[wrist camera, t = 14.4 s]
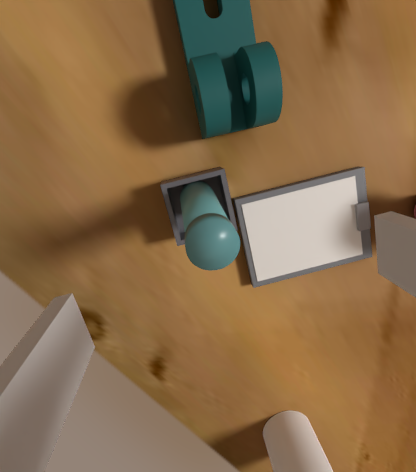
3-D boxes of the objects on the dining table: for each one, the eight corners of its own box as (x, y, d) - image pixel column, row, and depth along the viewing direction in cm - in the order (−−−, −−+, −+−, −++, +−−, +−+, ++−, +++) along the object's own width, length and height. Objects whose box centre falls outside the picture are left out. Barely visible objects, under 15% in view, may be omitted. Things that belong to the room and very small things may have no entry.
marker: (174, 179, 33) (180, 226, 20) (209, 172, 33) (236, 215, 21) (182, 212, 35) (191, 275, 22) (215, 205, 35) (243, 264, 22)
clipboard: (232, 198, 35) (235, 200, 34) (358, 166, 36) (367, 167, 34) (251, 283, 38) (254, 289, 37) (366, 253, 39) (375, 258, 37)
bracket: (262, 125, 34) (286, 118, 26) (202, 139, 34) (209, 136, 26) (230, -76, 29) (249, -157, 21) (159, -62, 28) (153, -138, 21)
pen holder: (161, 181, 34) (160, 184, 31) (219, 166, 34) (224, 168, 31) (177, 236, 36) (177, 246, 33) (232, 223, 36) (237, 230, 33)
